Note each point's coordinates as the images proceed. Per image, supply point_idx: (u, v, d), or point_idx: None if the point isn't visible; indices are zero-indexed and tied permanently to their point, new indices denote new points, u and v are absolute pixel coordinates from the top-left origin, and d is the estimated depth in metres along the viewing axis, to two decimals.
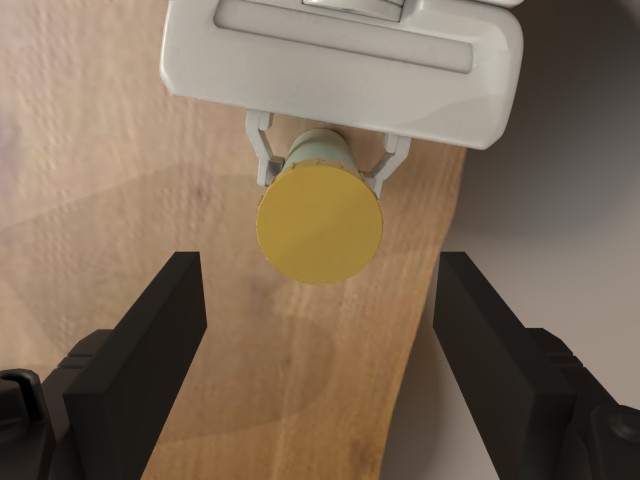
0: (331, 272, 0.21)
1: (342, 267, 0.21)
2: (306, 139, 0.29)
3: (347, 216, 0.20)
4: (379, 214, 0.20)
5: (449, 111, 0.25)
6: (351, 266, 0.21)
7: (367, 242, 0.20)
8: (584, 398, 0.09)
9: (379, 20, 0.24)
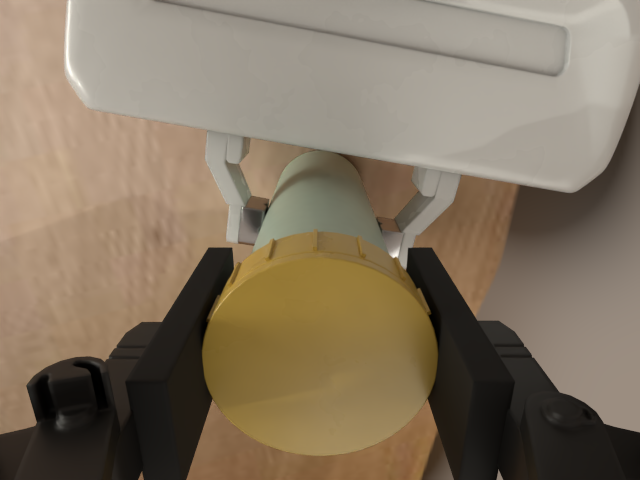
0: (341, 437, 0.11)
1: (361, 429, 0.11)
2: (300, 171, 0.20)
3: (372, 346, 0.10)
4: (433, 343, 0.10)
5: (525, 136, 0.16)
6: (378, 427, 0.11)
7: (408, 389, 0.11)
8: (526, 387, 0.09)
9: None
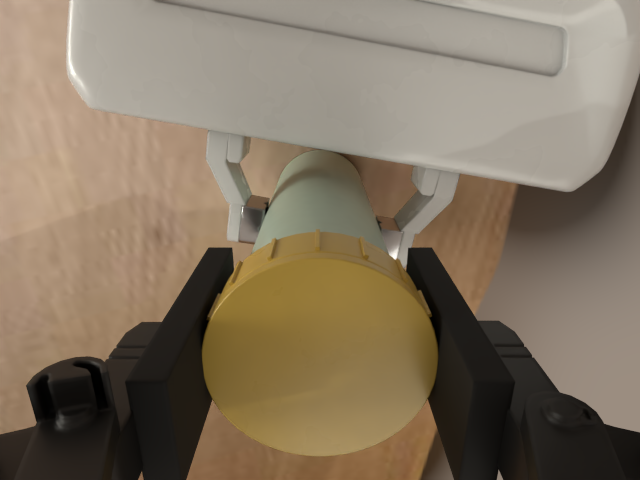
0: (399, 319, 0.10)
1: (382, 305, 0.10)
2: (300, 170, 0.20)
3: (278, 332, 0.10)
4: (248, 283, 0.10)
5: (523, 135, 0.16)
6: (374, 289, 0.10)
7: (312, 281, 0.10)
8: (527, 387, 0.09)
9: None
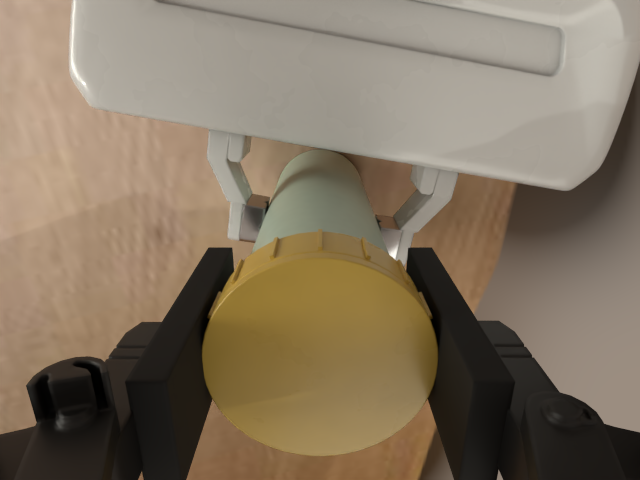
0: (237, 322, 0.10)
1: (230, 342, 0.10)
2: (300, 169, 0.21)
3: (298, 408, 0.11)
4: (261, 441, 0.11)
5: (521, 134, 0.16)
6: (220, 353, 0.10)
7: (236, 399, 0.11)
8: (527, 387, 0.09)
9: None
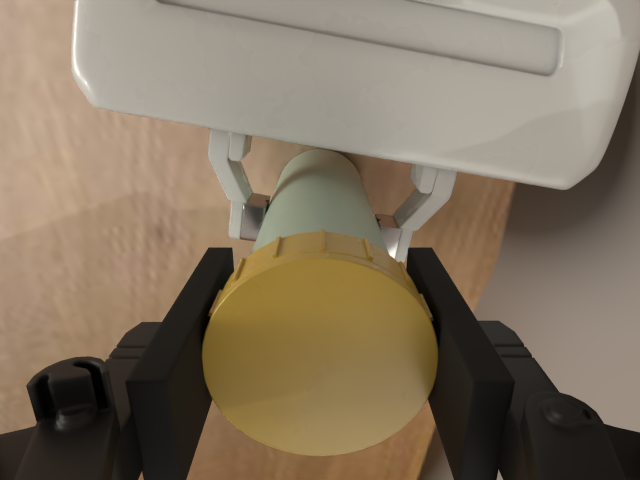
0: (302, 438, 0.11)
1: (324, 438, 0.11)
2: (301, 169, 0.21)
3: (376, 368, 0.11)
4: (430, 386, 0.11)
5: (519, 134, 0.17)
6: (339, 441, 0.11)
7: (385, 418, 0.11)
8: (527, 387, 0.09)
9: None
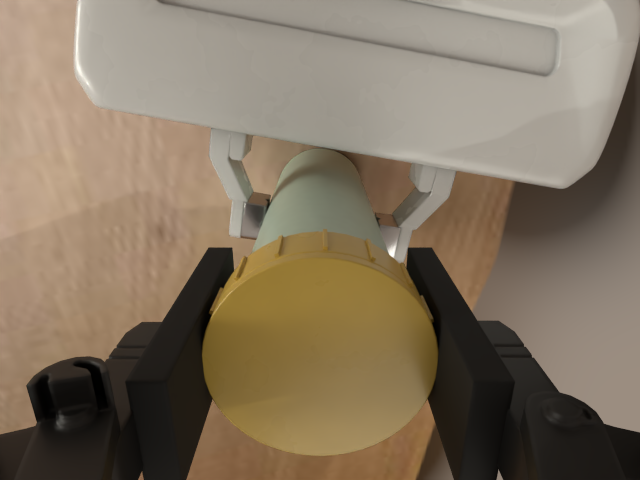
0: (413, 353, 0.10)
1: (406, 334, 0.10)
2: (301, 168, 0.21)
3: (300, 319, 0.10)
4: (299, 263, 0.10)
5: (517, 133, 0.17)
6: (407, 318, 0.10)
7: (358, 287, 0.10)
8: (526, 387, 0.09)
9: None
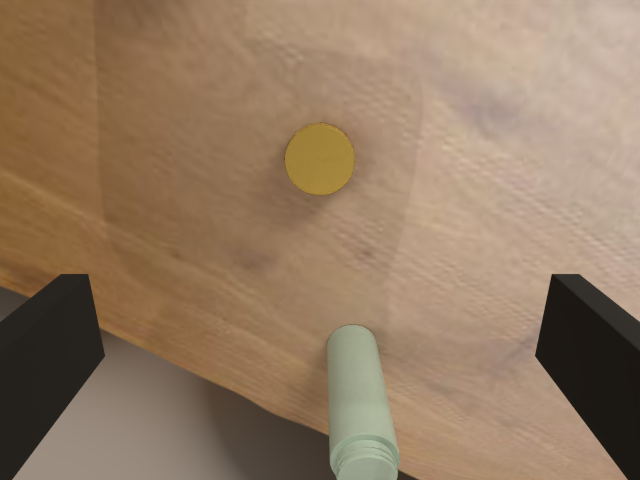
0: (347, 156, 0.36)
1: (344, 150, 0.36)
2: None
3: (314, 145, 0.36)
4: (314, 127, 0.35)
5: None
6: (344, 144, 0.36)
7: (330, 134, 0.35)
8: None
9: None
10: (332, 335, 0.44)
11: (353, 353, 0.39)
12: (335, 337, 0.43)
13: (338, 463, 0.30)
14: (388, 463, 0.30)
